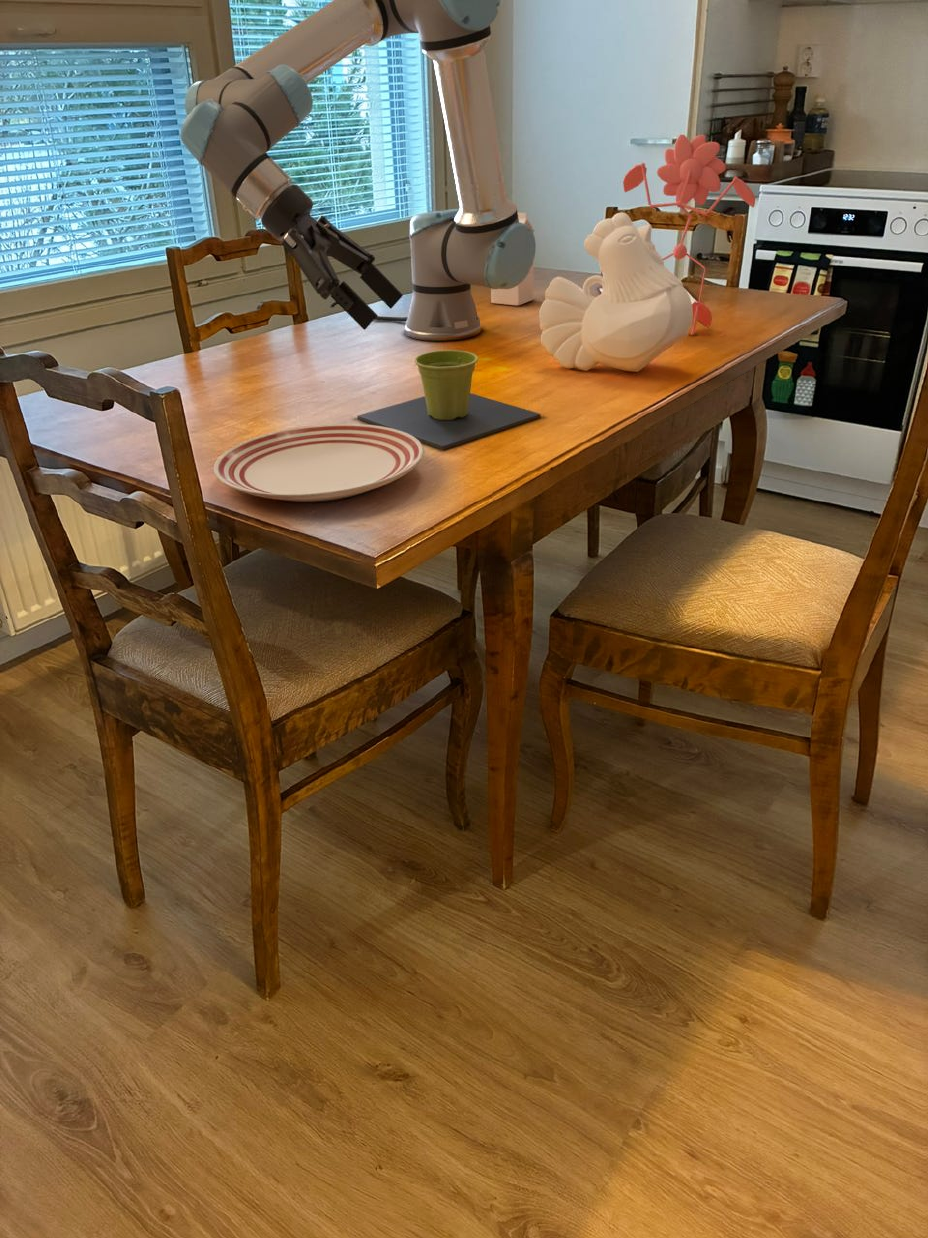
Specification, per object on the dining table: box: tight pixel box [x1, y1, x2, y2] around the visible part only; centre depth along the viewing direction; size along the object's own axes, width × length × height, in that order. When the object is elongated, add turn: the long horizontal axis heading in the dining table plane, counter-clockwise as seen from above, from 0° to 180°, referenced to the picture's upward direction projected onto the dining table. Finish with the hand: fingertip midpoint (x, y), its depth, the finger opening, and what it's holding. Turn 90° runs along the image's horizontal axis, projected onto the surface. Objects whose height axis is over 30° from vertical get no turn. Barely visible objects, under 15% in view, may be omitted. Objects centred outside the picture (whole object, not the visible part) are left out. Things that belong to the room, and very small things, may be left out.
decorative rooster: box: [538, 211, 694, 373], centre depth 166 cm, size 25×16×25 cm
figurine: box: [622, 134, 756, 338], centre depth 187 cm, size 15×26×35 cm, turn 64°
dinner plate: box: [213, 423, 425, 503], centre depth 127 cm, size 27×27×3 cm
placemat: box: [356, 392, 542, 451], centre depth 148 cm, size 20×20×1 cm
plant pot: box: [414, 349, 479, 420], centre depth 145 cm, size 9×9×9 cm
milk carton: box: [490, 212, 535, 307], centre depth 215 cm, size 7×7×19 cm
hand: (384, 312), depth 142 cm, fingers open, 13 cm apart
